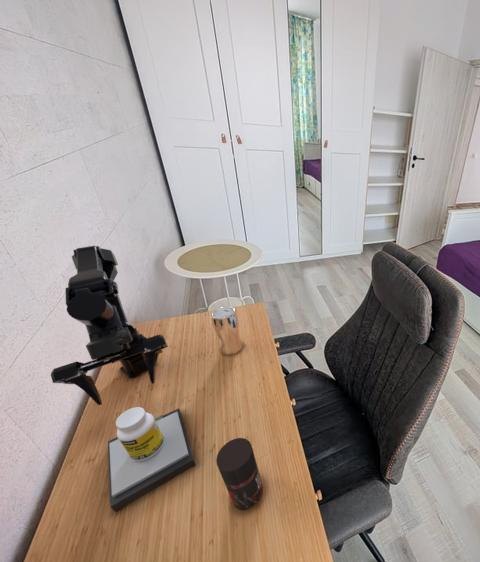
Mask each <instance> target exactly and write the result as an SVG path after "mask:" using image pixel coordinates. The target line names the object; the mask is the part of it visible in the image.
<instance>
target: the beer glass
mask: <svg viewBox="0 0 480 562" xmlns="http://www.w3.org/2000/svg"><path fill="white" fill-rule="evenodd" d="M210 317H211V323H212V327H213V330H214V332H215V334H216V336H217V338H218V340H219V341H220V343H221V344H220V345H221V352H222V353H223V355H227V356H229V355H231V356H232V355H235V354H237V353H239V352H240V351H241V350H242V347H243V344H242V342H241V340H240V338H239V337H240V336H239V320H238V316H237V314H236V310H235V308H234V307H232V306H228V305H224V306H219V307H217V308H214V309H213V311H211V312H210Z"/></svg>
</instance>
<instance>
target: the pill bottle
mask: <svg viewBox="0 0 480 562" xmlns="http://www.w3.org/2000/svg"><path fill="white" fill-rule="evenodd" d="M115 427H116V429H117V430H116V437H118V439H119V441H120V442H121V444H122V445H123V447H124V448H125V450H126V451H127V453H128V454H129V456H130V457H131V458H132V459H133V460H135V461H143V460H146V459H148V458H150V457H152V456H154V455H155V454H156V453H157V452H158V451H159V450H160V449H161V447H162V446H163V443H164V437H163V435H162V433H161V431H160V429H159V427H158V425H157V423H156V421H155V417H154V415H153V414H151V413H150V412H147V411H146V410H145V409H144V408H143V407H140V406H135V407H131V408H128V409H126V410H125V411H123V412H122V413H121V414H119V416H118V417H117V418H116V420H115Z"/></svg>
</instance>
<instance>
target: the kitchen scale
mask: <svg viewBox="0 0 480 562" xmlns="http://www.w3.org/2000/svg"><path fill="white" fill-rule="evenodd" d="M154 419H155V421H156V423H157V425H158V427H159V429H160V431H161V433H162V435H163V437H164V443H163V446H162V447H161V449H160V450H159V451H158V452H157V453H156V454H155V455H154V456H152V457H150V458H148V459H146V460H143V461H135V460H133V459H132V458H131V457H130V456H129V454H128V453H127V451H126V450H125V448H124V447H123V445H122V444H121V442H120V441H119V439H118V437H117V436H116V437H114V438H112V439H109V440H108V441H107V459H108V482H109V506H110V508H111V509H112V511H114V512H116V513H117V512H118V511H119V510H121V509H123V508H124V507H126V506H128V505H129V504H131V503H133V502H135V501H136V500H138V499H139V498H141V497H143V496H145V495H146V494H148V493H151V492H152V491H154V490H155V489H157V488H159V487H160V486H162V485H164V484H166V483H168V482H169V481H170V480H172V479H174V478H175V477H177V476H179V475H182V474H183V473H184V472H186V471H188V470H190V469H191V468H193V467H194V466H196V465H197V464H196V460H195V457H194V454H193V450H192V447H191V443H190V439H189V435H188V432H187V427H186V425H185V421H184V417H183V414H182V411H181V409H180V408H176V409H174V410H172V411H169V412H168V413H165V414H162V415H159V416H157V417H154Z"/></svg>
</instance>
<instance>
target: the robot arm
mask: <svg viewBox="0 0 480 562" xmlns="http://www.w3.org/2000/svg"><path fill="white" fill-rule="evenodd" d="M71 259H72V262H73V264H74V267H75V269H76V274H74V275H73V276H71V277H70V278H69V279H68V282H67V287H65V305H66V312H67V314H68V315H69V316H70V317H71V318H73V319H74V320H76V321H78V322H79V323H81V324H83V325H85V329H86V331H87V334H88V338H89V342H87V344H86V345H85V347H86V350H87V352H88V355H89V356H90V359H91V360H90V361H87V362H81V361H77V360H76V361H74V362H71V363H67V364H65V365H62V366H61V365H60V366H58V367H55V368H53V369H52V371H51V372H50V377H51V382H52V384H64V385H75V386H77V387H78V388H80V389H81V390H82V391H84V392H85V393H86V394H87V396H89V397H90V399H91V400H93V401H94V402H95V404H97V406H102V405H103V402H102V397H101V395H100V393H99V391H98V388H97V386H96V384H95V381H94V379H93V376H92V375H87V374H88V372H89V371H92V370H96V369H98V368H101V367H104V366H107V365H111V364H115V363H117V362H120V364H121V367H120V371H121V372H122V373H123V374H124V375H125V376H126V377H127V378H128V379H129V380H131V379H134V378H135V377H137V376H139V375H140V374H142V373H144V372H146V371H148V376H149V381H150V382H151V384H152V385H154V384H155V383H156V382H155V381H156V367H157V361H158V357H159V355H160V354H163V350H164V349H166V348H168V344H167V343H168V342H167V341H166V338H165V337H164V335H162V334H156V335H154V336H150V337H147V336H145V335H144V334H142V333H140V332H139V330H138V329H137V328H136V327H134V326H133V325H132V324H130V323H129V322H128V319H127V316H126V313H125V310H124V308H123V304H122V302H121V298H120V295H119V285H118V283H117V282H116V281H115V279H116V277H117V276H118V273H119V272H118V268H117V266H118V265H119V264H118V260H117V258H116V256H115V254H114V253H113V251H112V250H111V249H106V248H103V247H102V248H101V247H100V246H99V245H89V246H83V247H77V248H76V249H73V254H72V256H71Z"/></svg>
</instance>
